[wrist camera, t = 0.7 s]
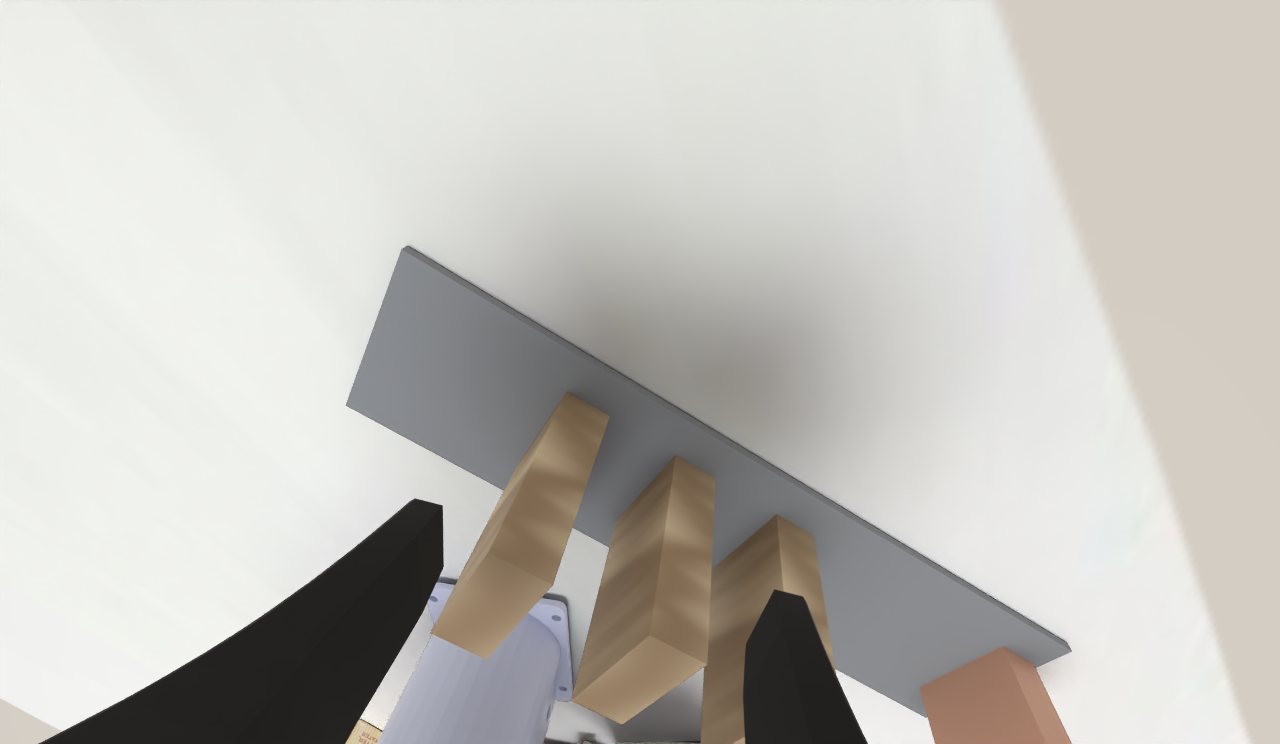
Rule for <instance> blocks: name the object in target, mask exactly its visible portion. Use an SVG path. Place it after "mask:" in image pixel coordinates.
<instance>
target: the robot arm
mask: <svg viewBox="0 0 1280 744" xmlns="http://www.w3.org/2000/svg"><path fill="white" fill-rule="evenodd" d="M443 567H444V563H443V506H442V505H438V504H434V503H431V502H427V501H423V500H419V499H414V500H412V501H410V502H409V503H408V504H406V505H405V506H404V507H403V508H402V509H401V510H399V511H398V512H397V513H396V514H395V515H393V516H392V517H391V518H390V519H389V520H388V521H386V522H385V523H384V524H383V525H382V526H380V527H379V528H378V529H377V530H376V531H374V532H373V533H372V534H371V535H369V536H368V537H367V538H366V539H365V540H363V541H362V542H361V543H360V544H358V545H357V546H356V547H355V548H353V549H352V550H351V551H350V552H348V553H347V554H346V555H344V556H343V557H342V558H341V559H339V560H338V561H337V562H335V563H334V564H333V565H331V566H330V567H329V568H328V569H326V570H325V571H324V572H322V573H321V574H320V575H319V576H317V577H316V578H315V579H313V580H312V581H310V582H309V583H308V584H306V585H305V586H304V587H302V588H301V589H299V590H298V591H297V592H295V593H294V594H292V595H291V596H290V597H288V598H287V599H285V600H284V601H282V602H281V603H280V604H278V605H277V606H275V607H274V608H273V609H271V610H270V611H268V612H267V613H265V614H264V615H263V616H261V617H260V618H258V619H257V620H255V621H254V622H252V623H251V624H249V625H248V626H246V627H245V628H243V629H242V630H240V631H238V632H237V633H235V634H234V635H232V636H231V637H229V638H228V639H226V640H224V641H223V642H221V643H220V644H218V645H216V646H215V647H213V648H212V649H210V650H208V651H207V652H205V653H204V654H202V655H200V656H199V657H197V658H195V659H193V660H192V661H190V662H188V663H187V664H185V665H183V666H182V667H180V668H178V669H176V670H175V671H173V672H171V673H170V674H168V675H166V676H165V677H163V678H161V679H159V680H158V681H156V682H154V683H153V684H151V685H149V686H147V687H145V688H144V689H142V690H140V691H138V692H137V693H135V694H133V695H131V696H129V697H127V698H126V699H124V700H122V701H120V702H118V703H116V704H114V705H112V706H111V707H109V708H107V709H105V710H103V711H101V712H99V713H97V714H95V715H93V716H91V717H89V718H87V719H86V720H84V721H82V722H80V723H78V724H76V725H74V726H72V727H70V728H68V729H66V730H64V731H62V732H61V733H59V734H57V735H55V736H53V737H51V738H49V739H47V740H45V741H43V742H41V743H39V744H346V742H347V740H348V738H349V736H350V735H351V733H352V731H353V729H354V727H355V726H356V724H357V722H358V720H359V718H360V717H361V715H362V713H363V712H364V710H365V708H366V707H367V705H368V703H369V702H370V700H371V698H372V697H373V695H374V693H375V692H376V690H377V688H378V687H379V685H380V683H381V682H382V680H383V678H384V677H385V675H386V673H387V672H388V670H389V668H390V667H391V665H392V663H393V662H394V660H395V658H396V657H397V655H398V653H399V652H400V650H401V648H402V647H403V645H404V643H405V642H406V640H407V638H408V637H409V635H410V633H411V632H412V630H413V628H414V627H415V625H416V623H417V621H418V620H419V618H420V616H421V615H422V613H423V611H424V608H425V606H426V604H428V608H429V611H430V615H431V618H432V621H433V625H435V623H436V621H437V619H438V617H439V615H440V613H441V612H442V610H443V608H444V606H445V604H446V602H447V600H448V598H449V596H450V594H451V592H452V590H453V588H454V586H455V585H452V584H446V583H439V582H437V580H438V578H439V576H440V574H441V572H442V569H443ZM572 695H573V684H572V671H571V657H570V644H569V631H568V617H567V607H566V605H565V604H564V603H563V602H561V601H557V600H550V599H544V598H541V599H540V600H539V601H538V602H537V603H536V605H535V606H534V607H533V608H532V609H531V610H530V611H529V612H528V614H527V615H526V616H525V617H524V618H523V619H522V620H521V621H520V622H519V624H518V625H517V626H516V627H515V628H514V629H513V630H512V631H511V633H510V634H509V635H508V636H507V637H506V638H505V639H504V640H503V642H502V643H501V644H500V645H499V646H498V647H497V648H496V649H495V651H494V652H493V653H492V654H491V655H490V656H489V657H488V658H487V659H486V660H485V659H483V658H481V657H479V656H477V655H475V654H473V653H471V652H469V651H466V650H464V649H462V648H460V647H458V646H456V645H454V644H452V643H450V642H448V641H446V640H443V639H441V638H439V637H437V636H435V635H433V634H432V636H431V638H430V640H429V642H428V644H427V646H426V648H425V650H424V652H423V654H422V656H421V658H420V660H419V662H418V664H417V666H416V668H415V669H414V671H413V673H412V675H411V677H410V679H409V681H408V683H407V685H406V687H405V689H404V691H403V693H402V695H401V697H400V699H399V701H398V703H397V705H396V706H395V708H394V710H393V712H392V714H391V716H390V718H389V720H388V722H387V724H386V726H385V728H384V730H383V732H382V734H381V736H380V738H379V740H378V741H377V743H376V744H543V743H544V739H545V736H546V732H547V728H548V725H549V721H550V717H551V714H552V710H553V706H554V703H555V700H558V701H564V702H568V701H570V700H571V699H572ZM743 710H744V731H745V744H868V743H867V741H866V739H865V737H864V735H863V733H862V731H861V728H860V726H859V724H858V722H857V720H856V718H855V716H854V713H853V711H852V709H851V707H850V705H849V703H848V700H847V698H846V696H845V694H844V692H843V690H842V687H841V685H840V683H839V681H838V678H837V676H836V674H835V671H834V669H833V667H832V664H831V662H830V660H829V657H828V655H827V652H826V650H825V648H824V645H823V643H822V640H821V638H820V635H819V633H818V630H817V628H816V625H815V623H814V620H813V618H812V615H811V613H810V610H809V607H808V605H807V602H806V600H805V599H804V597H803V596H800V595H796V594H792V593H788V592H784V591H780V590H776V589H774V591H773V593H772V595H771V597H770V598H769V600H768V602H767V604H766V606H765V608H764V610H763V612H762V614H761V616H760V618H759V620H758V622H757V623H756V625H755V627H754V629H753V631H752V633H751V635H750V637H749V639H748V641H747V643H746V648H745V664H744V683H743Z"/></svg>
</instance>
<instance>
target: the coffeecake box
mask: <svg viewBox="0 0 1280 744" xmlns="http://www.w3.org/2000/svg"><path fill="white" fill-rule="evenodd" d="M381 734H382V731H380V730H378V729H376V728H375V727H373V726H371V725H370V724H368V723H366V722H364V721H363V720H361V719H360V720H358V722H357V724H356V726H355V727H354V729H353V731H352V733H351V735H350V736H349V738H348V740H347V742H346V744H376V743H377V741H378V740H379V738H380V736H381Z"/></svg>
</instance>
